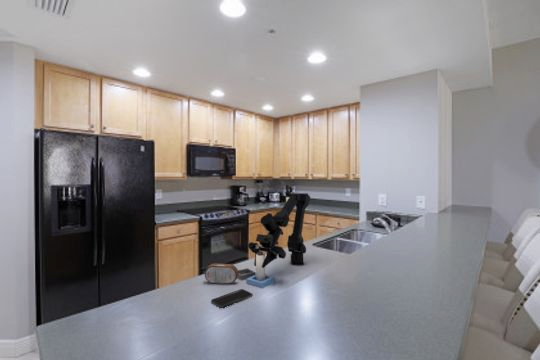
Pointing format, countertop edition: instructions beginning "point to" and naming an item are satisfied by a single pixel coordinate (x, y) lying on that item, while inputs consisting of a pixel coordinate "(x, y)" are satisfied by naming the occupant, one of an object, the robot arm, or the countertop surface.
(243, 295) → the phone
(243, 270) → the gray socket
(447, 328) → the countertop surface
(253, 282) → the blue bezel socket
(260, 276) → the cream canister charcoal lid
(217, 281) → the tin
